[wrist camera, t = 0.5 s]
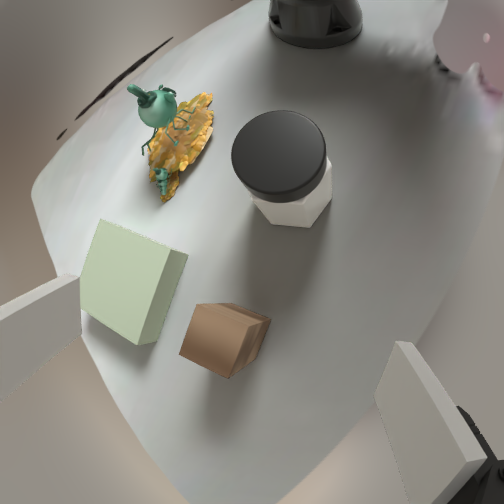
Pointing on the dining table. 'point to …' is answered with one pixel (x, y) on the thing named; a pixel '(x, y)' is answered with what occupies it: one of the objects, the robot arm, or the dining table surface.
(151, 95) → the green insect figurine
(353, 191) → the dining table surface
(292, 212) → the jar
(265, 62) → the dining table surface
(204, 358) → the walnut block
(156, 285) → the sage block
